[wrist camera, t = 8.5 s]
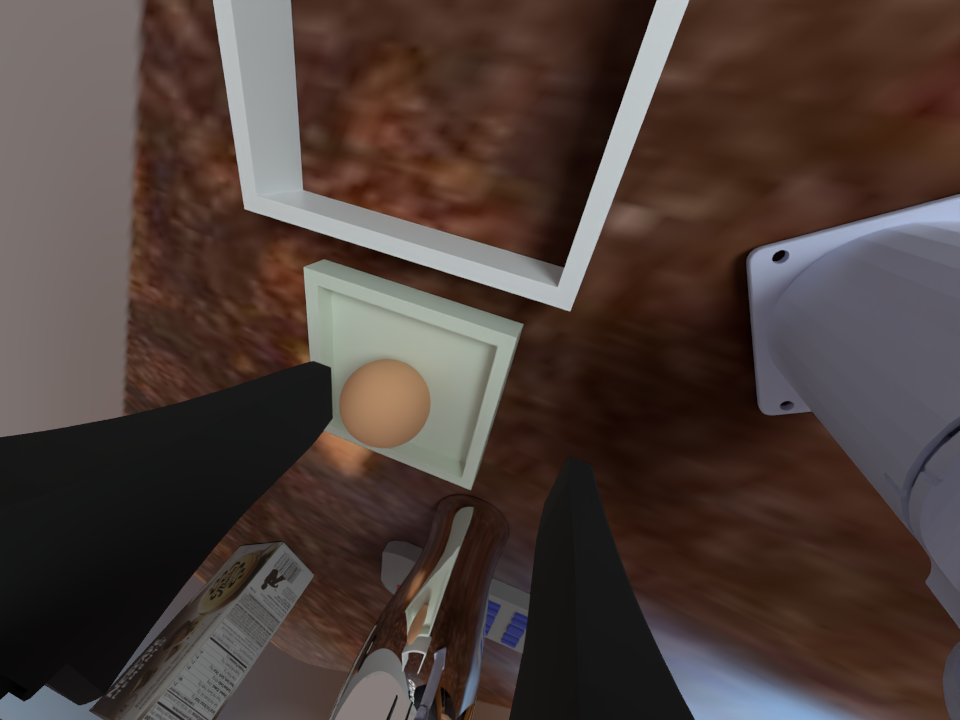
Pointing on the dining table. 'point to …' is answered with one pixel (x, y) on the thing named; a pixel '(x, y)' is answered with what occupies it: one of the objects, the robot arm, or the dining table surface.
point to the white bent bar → (279, 194)
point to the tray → (414, 360)
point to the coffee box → (210, 640)
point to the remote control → (503, 603)
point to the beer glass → (431, 624)
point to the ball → (384, 403)
